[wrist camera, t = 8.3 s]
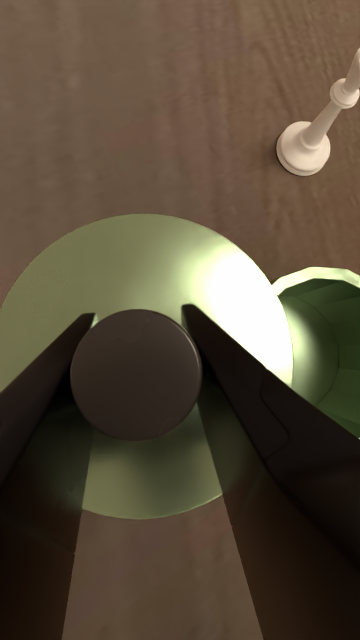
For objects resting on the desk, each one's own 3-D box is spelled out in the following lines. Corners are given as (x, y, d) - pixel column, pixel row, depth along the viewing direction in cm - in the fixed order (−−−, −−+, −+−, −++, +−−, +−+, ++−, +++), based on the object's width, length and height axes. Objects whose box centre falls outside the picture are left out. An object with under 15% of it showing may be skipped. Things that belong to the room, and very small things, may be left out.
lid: (311, 455, 12) (508, 602, 5) (35, 539, 11) (-174, 874, 4) (244, 204, 13) (338, 50, 6) (-18, 253, 11) (-265, 128, 5)
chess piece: (274, 125, 24) (356, -27, 14) (324, 127, 24) (437, -19, 14) (277, 175, 24) (364, 55, 14) (328, 176, 24) (448, 60, 14)
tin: (344, 423, 22) (420, 457, 16) (212, 421, 21) (235, 457, 15) (341, 291, 23) (412, 272, 17) (216, 284, 22) (239, 261, 16)
